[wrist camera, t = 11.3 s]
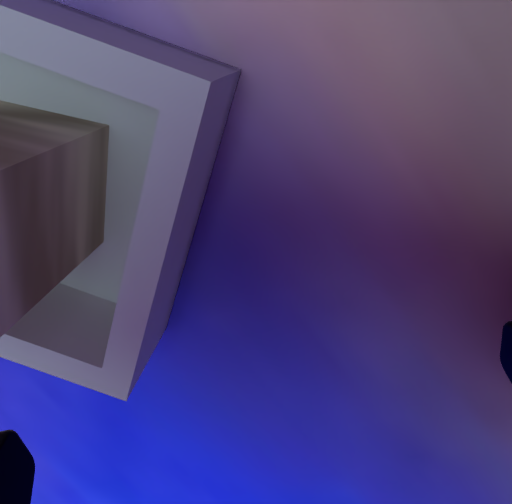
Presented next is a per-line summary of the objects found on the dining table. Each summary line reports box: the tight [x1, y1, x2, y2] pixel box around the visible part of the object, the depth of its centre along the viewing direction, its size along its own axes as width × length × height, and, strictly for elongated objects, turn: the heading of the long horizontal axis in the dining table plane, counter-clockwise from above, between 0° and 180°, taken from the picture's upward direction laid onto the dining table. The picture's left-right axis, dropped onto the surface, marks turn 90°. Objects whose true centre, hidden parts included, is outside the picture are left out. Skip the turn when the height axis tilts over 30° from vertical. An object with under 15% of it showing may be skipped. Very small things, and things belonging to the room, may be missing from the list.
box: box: [0, 0, 241, 401], centre depth 17 cm, size 12×12×5 cm
